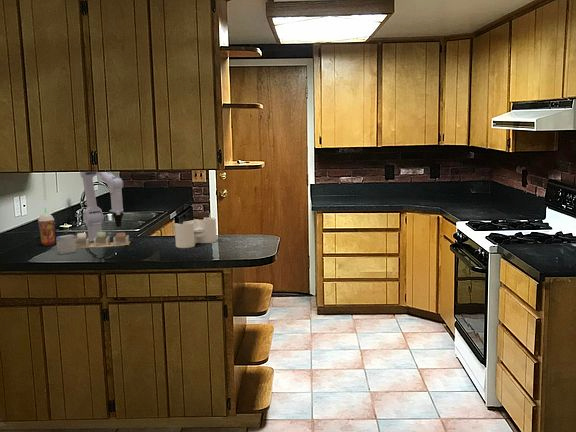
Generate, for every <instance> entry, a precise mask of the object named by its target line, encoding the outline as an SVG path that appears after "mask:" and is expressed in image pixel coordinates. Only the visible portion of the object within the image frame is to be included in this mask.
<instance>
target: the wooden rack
mask: <svg viewBox="0 0 576 432" xmlns="http://www.w3.org/2000/svg"><path fill="white" fill-rule="evenodd" d="M75 243H76V250H80V249H81V250H82V249H98V248H111V247H113V246H114V247H125V245H128V246H130V243H131V240H130V235H129V234H127V235H126V234H125V237H121V238H117V235H115V236H114V237H113V241H112V242H111V239H110V236H109V235H108V236H106V238H105V239H97V237H95V238H94V241H93V243H91V241H90V238H88V237H86V240H78V239H77V238H76V237H75ZM114 247H113V248H114Z"/></svg>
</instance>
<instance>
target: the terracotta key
mask: <svg viewBox="0 0 576 432" xmlns="http://www.w3.org/2000/svg"><path fill="white" fill-rule="evenodd" d="M125 235H126V232H117V233H116V236H117V238H121V237H125Z"/></svg>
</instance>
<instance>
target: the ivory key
mask: <svg viewBox="0 0 576 432" xmlns="http://www.w3.org/2000/svg"><path fill="white" fill-rule="evenodd" d="M76 237H77V239H78V240H86V238H87V233H86V232H77V233H76Z"/></svg>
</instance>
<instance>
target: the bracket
mask: <svg viewBox="0 0 576 432" xmlns="http://www.w3.org/2000/svg"><path fill="white" fill-rule="evenodd" d="M216 221H217V220H216V218H215V217H203V219H193V220H188V221H187V220H186V221H183V222H182V223H174V236H175V247H176V248H179V249H188V248H189V249H190V248H194V247H195V245H196V244H197V243H198V244H211V243H212V244H213V243H216V242H217V241H218V239H217V222H216Z"/></svg>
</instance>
